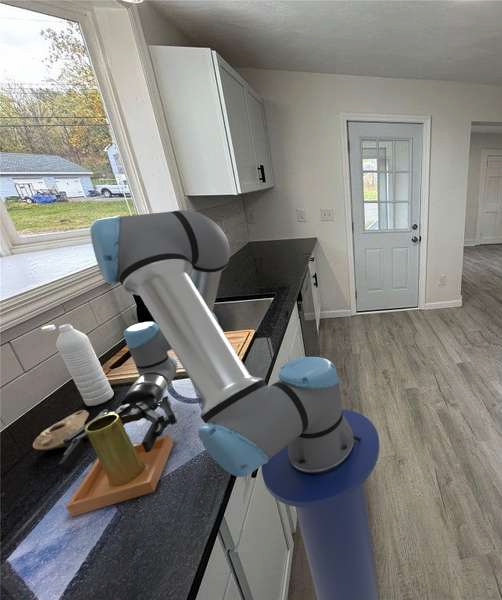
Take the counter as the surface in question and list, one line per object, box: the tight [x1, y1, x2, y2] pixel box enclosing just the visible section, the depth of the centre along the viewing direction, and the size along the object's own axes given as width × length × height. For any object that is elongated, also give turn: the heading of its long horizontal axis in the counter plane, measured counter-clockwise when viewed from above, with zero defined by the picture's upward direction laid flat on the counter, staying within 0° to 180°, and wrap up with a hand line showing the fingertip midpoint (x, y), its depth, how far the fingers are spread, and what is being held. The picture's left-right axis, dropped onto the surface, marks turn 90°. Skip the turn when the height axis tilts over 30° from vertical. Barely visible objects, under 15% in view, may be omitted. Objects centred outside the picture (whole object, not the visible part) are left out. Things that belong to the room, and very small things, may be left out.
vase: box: [85, 414, 144, 486], centre depth 66 cm, size 6×6×14 cm
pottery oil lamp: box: [32, 409, 90, 451], centre depth 79 cm, size 9×12×7 cm
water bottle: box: [40, 323, 115, 407], centre depth 90 cm, size 9×6×25 cm
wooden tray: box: [65, 434, 174, 517], centre depth 68 cm, size 14×14×3 cm
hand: (105, 457), depth 63 cm, fingers open, 13 cm apart
